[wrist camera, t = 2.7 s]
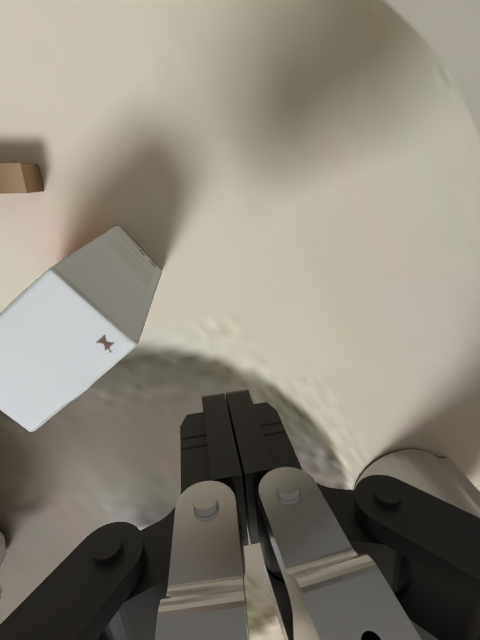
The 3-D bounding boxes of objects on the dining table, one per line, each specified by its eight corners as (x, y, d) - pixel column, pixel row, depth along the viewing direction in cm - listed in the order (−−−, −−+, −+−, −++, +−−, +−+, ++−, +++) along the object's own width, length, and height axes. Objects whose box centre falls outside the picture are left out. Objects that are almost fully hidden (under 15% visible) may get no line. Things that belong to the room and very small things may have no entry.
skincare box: (117, 221, 23) (52, 262, 12) (163, 271, 25) (143, 346, 14) (51, 282, 24) (-65, 370, 13) (100, 326, 26) (33, 438, 15)
